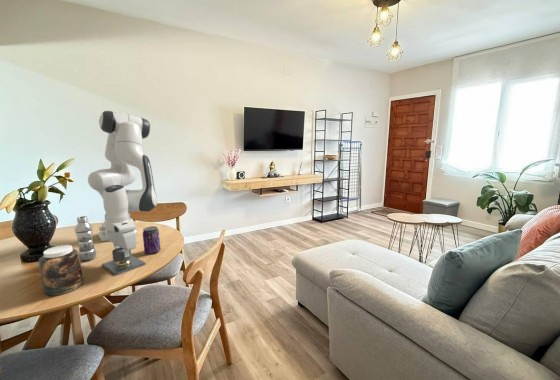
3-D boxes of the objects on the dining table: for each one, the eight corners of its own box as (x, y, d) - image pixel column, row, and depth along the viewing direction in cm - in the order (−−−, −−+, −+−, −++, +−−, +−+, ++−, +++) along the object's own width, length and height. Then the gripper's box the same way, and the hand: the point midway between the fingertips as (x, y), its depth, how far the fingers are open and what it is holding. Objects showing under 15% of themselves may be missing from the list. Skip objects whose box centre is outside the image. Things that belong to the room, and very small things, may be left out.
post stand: (101, 266, 115) (99, 250, 114) (130, 256, 125) (129, 242, 123) (115, 275, 107) (113, 259, 106) (145, 264, 116) (143, 249, 115)
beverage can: (154, 255, 126) (151, 231, 124) (141, 254, 127) (138, 230, 125) (163, 249, 133) (161, 226, 131) (151, 248, 134) (148, 225, 132)
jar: (38, 290, 97) (31, 251, 94) (75, 276, 107) (70, 241, 104) (51, 299, 91) (44, 258, 88) (89, 284, 101) (84, 247, 98)
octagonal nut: (111, 258, 115) (110, 250, 114) (126, 253, 120) (125, 245, 119) (117, 262, 111) (116, 253, 110) (133, 257, 116) (132, 248, 115)
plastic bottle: (86, 263, 118) (79, 220, 114) (75, 261, 120) (69, 218, 117) (100, 257, 124) (94, 216, 120) (90, 255, 126) (84, 214, 123)
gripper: (100, 221, 116) (104, 250, 119) (121, 230, 104) (125, 263, 107) (116, 217, 121) (119, 246, 124) (137, 226, 109) (141, 257, 111)
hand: (122, 254), depth 115 cm, fingers closed on octagonal nut, 6 cm apart
